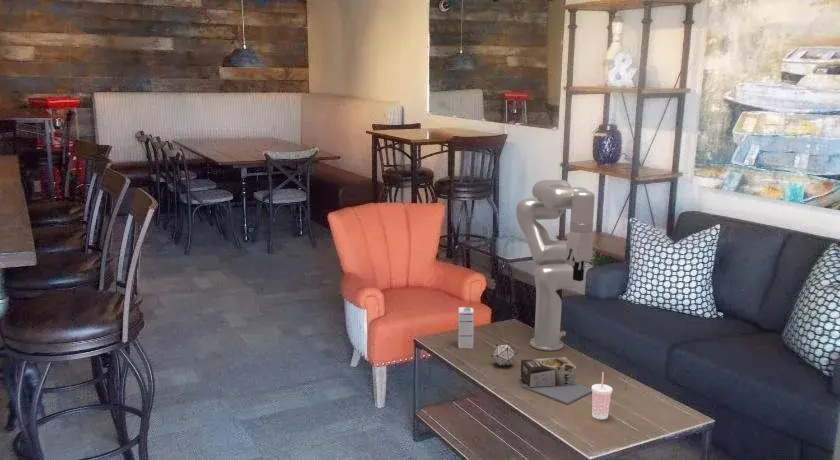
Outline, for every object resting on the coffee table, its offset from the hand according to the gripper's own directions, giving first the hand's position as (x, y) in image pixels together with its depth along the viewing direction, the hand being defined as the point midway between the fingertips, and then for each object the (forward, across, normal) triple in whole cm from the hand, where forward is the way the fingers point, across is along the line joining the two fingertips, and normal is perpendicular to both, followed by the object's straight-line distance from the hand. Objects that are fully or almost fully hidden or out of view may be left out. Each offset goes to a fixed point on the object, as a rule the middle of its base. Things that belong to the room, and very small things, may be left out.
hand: (578, 280), depth 248 cm
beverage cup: (+32, +25, +27) cm, 49 cm away
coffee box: (+28, +10, +6) cm, 30 cm away
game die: (+32, +16, -18) cm, 40 cm away
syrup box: (+32, +12, -40) cm, 53 cm away
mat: (+32, +18, +7) cm, 38 cm away
